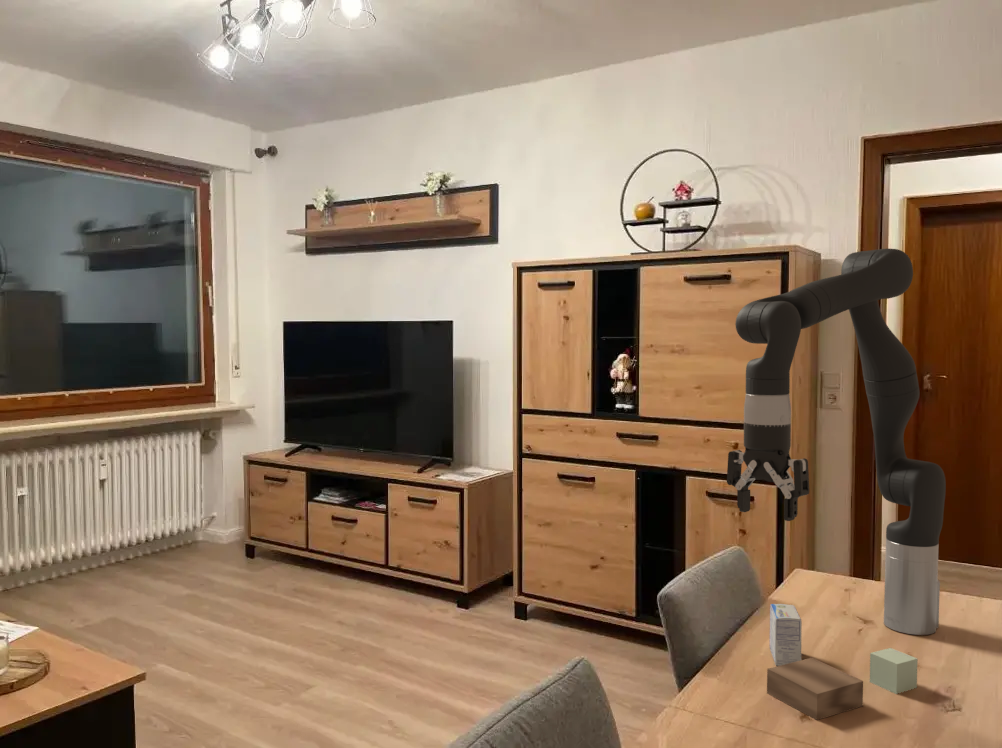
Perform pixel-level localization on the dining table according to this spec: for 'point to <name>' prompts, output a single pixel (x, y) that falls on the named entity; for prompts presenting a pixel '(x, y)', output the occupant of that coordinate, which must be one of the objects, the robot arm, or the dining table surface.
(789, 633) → the medicine box
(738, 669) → the dining table surface
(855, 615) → the dining table surface
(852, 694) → the walnut block
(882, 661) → the sage green cube
